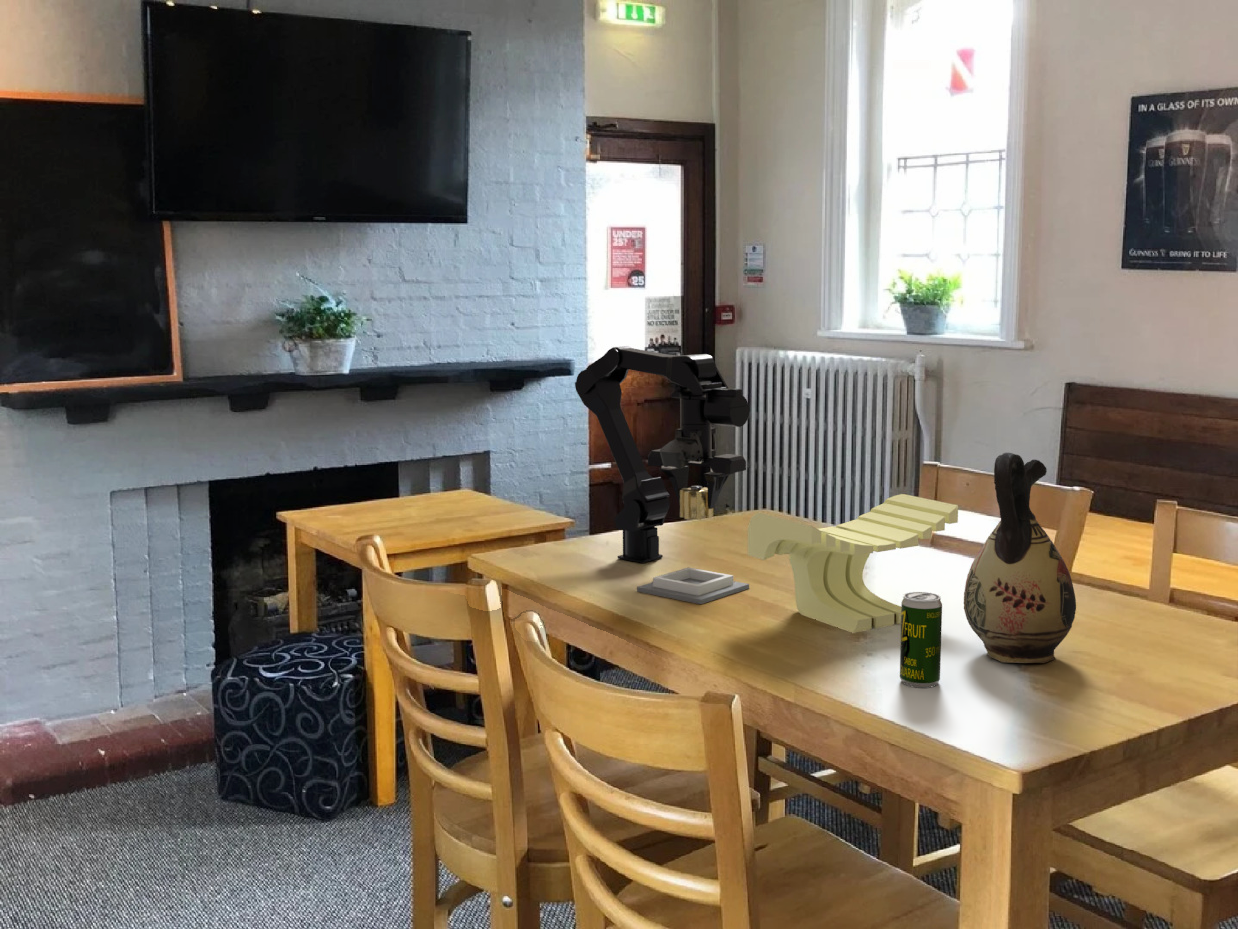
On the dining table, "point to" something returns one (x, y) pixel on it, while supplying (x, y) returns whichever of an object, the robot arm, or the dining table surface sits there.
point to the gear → (694, 503)
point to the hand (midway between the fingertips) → (696, 506)
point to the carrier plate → (693, 585)
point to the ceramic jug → (1019, 576)
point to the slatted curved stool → (847, 557)
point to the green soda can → (920, 639)
